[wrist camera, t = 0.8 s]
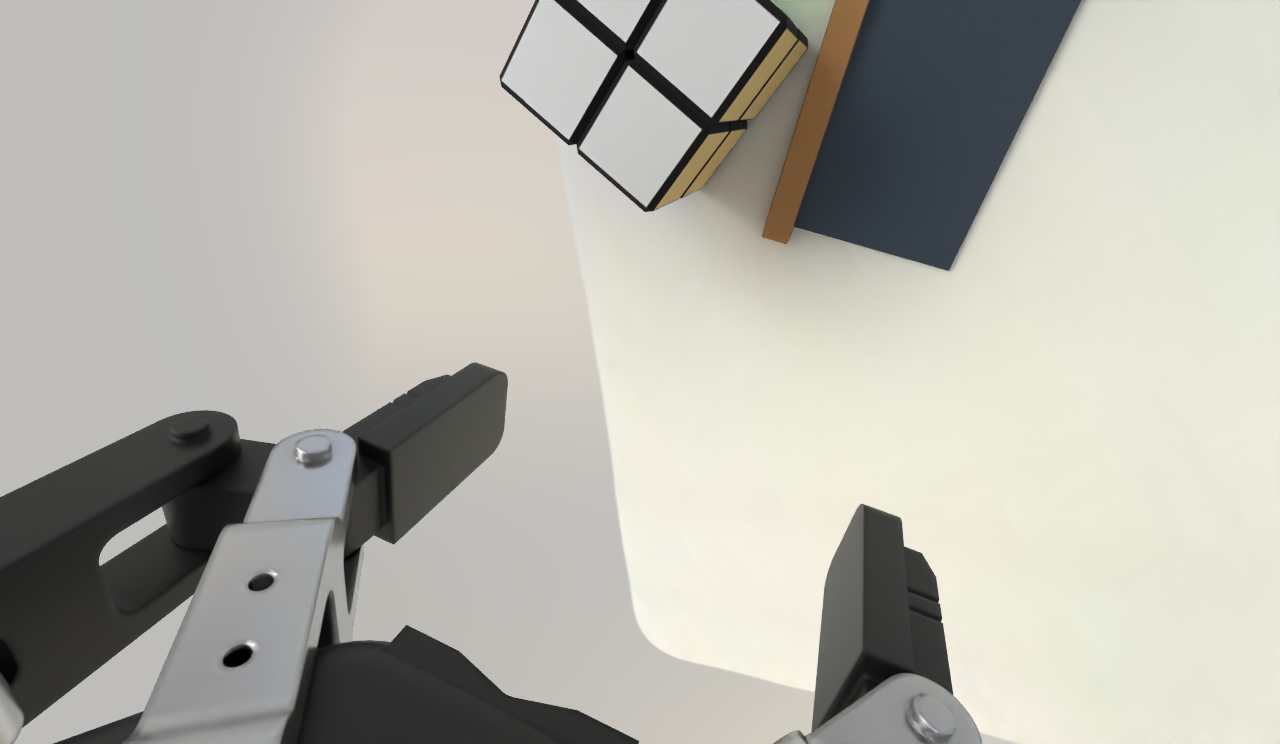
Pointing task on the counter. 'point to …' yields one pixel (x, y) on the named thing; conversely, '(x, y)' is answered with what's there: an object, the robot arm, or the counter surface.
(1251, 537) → the counter surface
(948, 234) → the chalkboard
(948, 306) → the counter surface
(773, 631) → the counter surface
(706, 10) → the puzzle cube
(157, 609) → the robot arm
